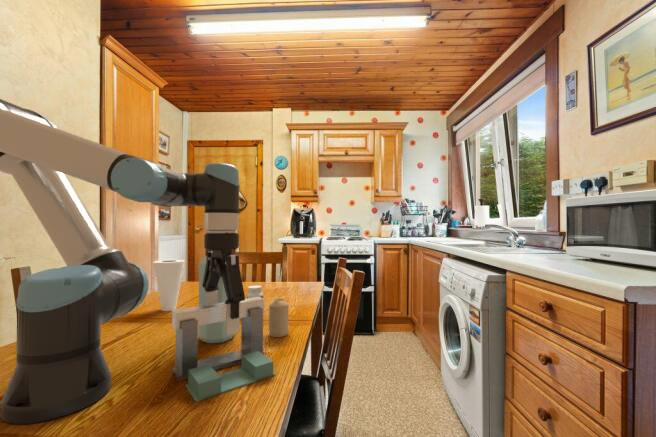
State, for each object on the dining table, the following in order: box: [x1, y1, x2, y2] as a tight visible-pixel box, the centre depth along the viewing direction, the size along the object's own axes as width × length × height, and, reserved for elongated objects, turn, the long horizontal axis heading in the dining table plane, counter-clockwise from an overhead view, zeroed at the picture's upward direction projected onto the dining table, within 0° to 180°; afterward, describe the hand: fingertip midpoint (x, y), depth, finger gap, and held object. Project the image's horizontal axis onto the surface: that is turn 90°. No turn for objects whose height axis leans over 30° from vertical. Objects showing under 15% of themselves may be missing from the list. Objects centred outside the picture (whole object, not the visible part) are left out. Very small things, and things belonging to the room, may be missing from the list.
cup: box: [152, 259, 186, 312], centre depth 118 cm, size 11×11×18 cm
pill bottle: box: [246, 285, 264, 299], centre depth 110 cm, size 6×6×10 cm
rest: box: [185, 351, 276, 403], centre depth 64 cm, size 16×7×3 cm, turn 128°
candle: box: [268, 298, 289, 338], centre depth 91 cm, size 6×6×10 cm
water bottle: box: [198, 249, 235, 344], centre depth 88 cm, size 10×10×25 cm
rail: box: [171, 297, 265, 332], centre depth 72 cm, size 20×3×4 cm, turn 128°
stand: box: [172, 308, 265, 382], centre depth 71 cm, size 19×6×12 cm, turn 128°
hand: (221, 325), depth 72 cm, fingers open, 13 cm apart
